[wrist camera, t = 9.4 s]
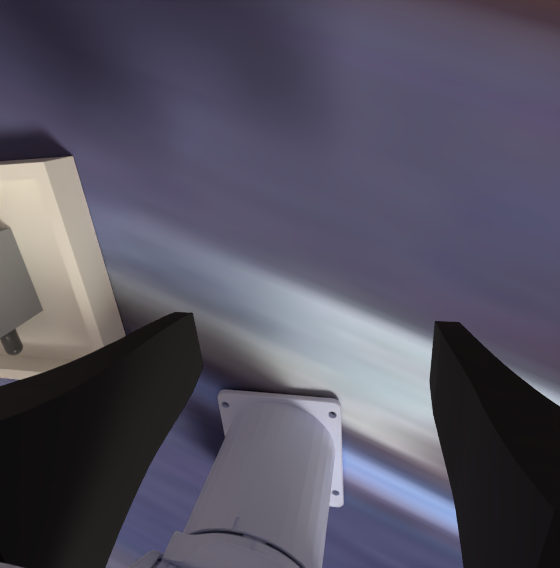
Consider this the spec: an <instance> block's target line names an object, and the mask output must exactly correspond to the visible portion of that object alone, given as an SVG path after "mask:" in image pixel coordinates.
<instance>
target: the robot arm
mask: <svg viewBox="0 0 560 568" xmlns="http://www.w3.org/2000/svg"><path fill="white" fill-rule="evenodd" d="M203 366H204V365H203V361H202V356H201V351H200V346H199V341H198V336H197V331H196V327H195V322H194V317H193V313H185V312H174V313H172V314H169V315H167V316H164V317H162V318H160V319H158V320H156V321H154V322H152V323H150V324H148V325H146V326H144V327H142V328H140V329H138V330H136V331H134V332H132V333H130V334H128V335H127V336H125V337H123V338H121V339H119V340H117V341H115V342H113V343H111V344H108V345H106V346H104V347H102V348H100V349H98V350H96V351H94V352H92V353H90V354H87V355H85V356H83V357H81V358H78V359H76V360H74V361H71V362H69V363H66V364H64V365H61V366H59V367H56V368H54V369H51V370H48V371H46V372H43V373H40V374H37V375H34V376H31V377H28V378H25V379H22V380H18V381H15V382H12V383H9V384H6V385H3V386H0V568H105V567H106V564H107V562H108V559H109V557H110V554H111V552H112V549H113V547H114V544H115V542H116V539H117V537H118V534H119V532H120V529H121V527H122V525H123V522H124V520H125V518H126V516H127V513H128V511H129V509H130V506H131V504H132V502H133V499H134V497H135V495H136V493H137V491H138V489H139V487H140V484H141V482H142V480H143V478H144V476H145V474H146V472H147V470H148V467H149V465H150V464H151V462H152V460H153V458H154V456H155V455H156V453H157V451H158V449H159V448H160V446H161V444H162V443H163V441H164V440H165V438H166V436H167V435H168V433H169V431H170V430H171V428H172V426H173V425H174V423H175V421H176V420H177V418H178V417H179V415H180V413H181V412H182V410H183V408H184V406H185V405H186V403H187V401H188V400H189V398H190V396H191V394H192V393H193V390H194V388H195V386H196V384H197V381H198V379H199V376H200V374H201V371H202V369H203ZM430 391H431V400H432V409H433V415H434V420H435V424H436V428H437V432H438V436H439V441H440V445H441V449H442V453H443V457H444V461H445V465H446V469H447V473H448V477H449V481H450V485H451V489H452V494H453V499H454V504H455V509H456V516H457V523H458V530H459V537H460V544H461V551H462V559H463V567H464V568H560V406H558V405H557V404H555V403H554V402H552V401H551V400H549V399H548V398H547V397H545V396H544V395H542V394H541V393H540V392H538V391H537V390H535V389H534V388H533V387H532V386H530V385H529V384H528V383H526V382H525V381H524V380H523V379H521V378H520V377H519V376H518V375H516V374H515V373H514V372H513V371H511V370H510V369H509V368H508V367H507V366H505V365H504V364H503V363H502V362H501V361H500V360H499V359H498V358H496V357H495V356H494V355H493V354H492V353H491V352H490V351H489V350H488V349H487V348H485V347H484V346H483V345H482V344H481V343H480V342H479V341H478V340H477V339H476V338H475V337H474V336H473V335H472V334H471V333H470V332H469V331H468V330H467V329H466V328H465V327H464V326H463V325H462V324H461V323H460V322H443V321H435V326H434V337H433V348H432V360H431V371H430ZM217 399H218V404H219V409H220V414H221V419H222V424H223V429H224V434H225V439H224V441H223V444H222V446H221V448H220V450H219V453H218V455H217V457H216V459H215V462H214V464H213V466H212V468H211V471H210V473H209V475H208V477H207V480H206V482H205V484H204V486H203V489H202V491H201V493H200V495H199V498H198V500H197V502H196V504H195V506H194V509H193V511H192V513H191V515H190V518H189V520H188V522H187V524H186V527H185V529H184V531H183V533H181V532H178V531H176V532H174V534H173V536H172V538H171V540H170V542H169V544H168V546H167V549H166V551H165V553H164V554H163V553H160V552H158V551H155V550H151V551H149V552H148V553H146V554H145V555H144V556H143V557H142V558H140V559H138V560H137V561H135V562H134V563H132V564H131V565H130V566H129V567H128V568H322V562H323V553H324V545H325V536H326V528H327V520H328V511H329V506H333V507H341V506H342V505H343V501H344V493H343V459H342V425H341V404H340V402H339V401H338V400H336V399H333V398H322V397H310V396H298V395H286V394H274V393H262V392H250V391H238V390H226V389H224V390H221V391H220V392H219V394H218V395H217ZM225 402H227V403H228V404H226V403H225ZM330 412H335V414H333V413H330Z"/></svg>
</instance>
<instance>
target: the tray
mask: <svg viewBox="0 0 560 568" xmlns="http://www.w3.org/2000/svg"><path fill="white" fill-rule="evenodd" d="M0 228H11V230H12V232H13V235H14V237H15V240H16V242H17V245H18V247H19V250H20V253H21V255H22V258H23V260H24V263H25V265H26V268H27V270H28V273H29V275H30V278H31V280H32V283H33V285H34V288H35V291H36V293H37V296H38V298H39V301H40V303H41V306H42V308H43V311H42V312H40V313H38V314H37V315H35V316H34V317H32V318H31V319H29V320H28V321H26V322H25V323H23V324H21V325H20V326H18V327H17V328H16V331H17V333H18V335H19V337H20V340H21V342H22V344H23V350H22V351H21V353H19V354H18V355H9V354H7V353H6V352H5V349H4V347H3V345H2V343H1V341H0V378H8V379H19V380H22V379H25V378H28V377H31V376H34V375H37V374H40V373H43V372H46V371H48V370H51V369H54V368H56V367H59V366H61V365H64V364H66V363H69V362H71V361H74V360H76V359H78V358H81V357H83V356H85V355H87V354H90V353H92V352H94V351H96V350H98V349H100V348H102V347H104V346H106V345H108V344H111V343H113V342H115V341H117V340H119V339H121V338H123V337H125V336H126V335H125V331H124V328H123V325H122V321H121V318H120V315H119V311H118V308H117V304H116V301H115V298H114V294H113V291H112V287H111V284H110V281H109V277H108V274H107V270H106V267H105V264H104V260H103V257H102V253H101V250H100V247H99V243H98V240H97V237H96V233H95V230H94V226H93V223H92V220H91V216H90V213H89V209H88V206H87V203H86V199H85V196H84V192H83V189H82V186H81V182H80V179H79V175H78V172H77V169H76V165H75V162H74V159H73V156H67V157H53V158H39V159H26V160H12V161H0Z"/></svg>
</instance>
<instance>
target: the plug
mask: <svg viewBox="0 0 560 568" xmlns="http://www.w3.org/2000/svg"><path fill="white" fill-rule="evenodd" d="M42 311H43V308H42V306H41V303H40V301H39V298H38V296H37V293H36V291H35V288H34V285H33V283H32V280H31V278H30V275H29V273H28V270H27V268H26V265H25V263H24V260H23V258H22V255H21V253H20V250H19V247H18V245H17V242H16V240H15V237H14V235H13V232H12V230H11V228H0V341H1V343H2V345H3V347H4V349H5V352H6V353H7V354H9V355H18V354H19V353H21V351H22V350H23V344H22V342H21V340H20V337H19V335H18V333H17V331H16V328H17V327H18V326H20V325H21V324H23V323H25V322H26V321H28V320H29V319H31V318H32V317H34V316H35V315H37V314H38V313H40V312H42Z"/></svg>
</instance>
